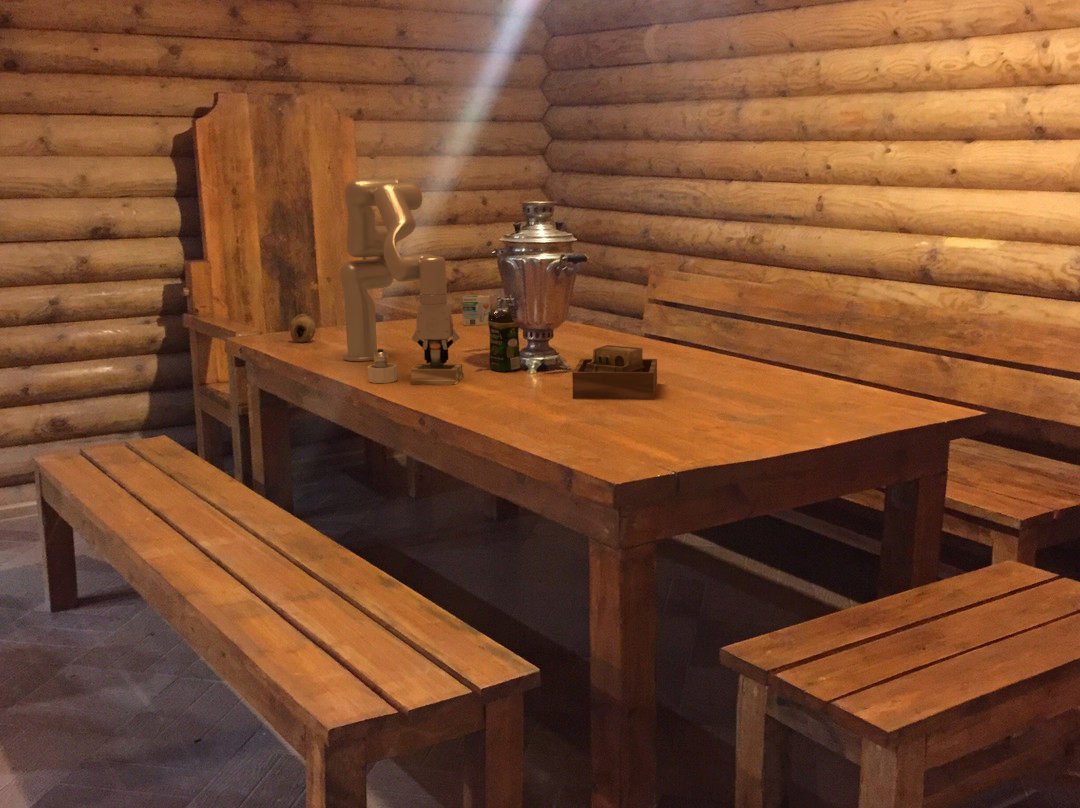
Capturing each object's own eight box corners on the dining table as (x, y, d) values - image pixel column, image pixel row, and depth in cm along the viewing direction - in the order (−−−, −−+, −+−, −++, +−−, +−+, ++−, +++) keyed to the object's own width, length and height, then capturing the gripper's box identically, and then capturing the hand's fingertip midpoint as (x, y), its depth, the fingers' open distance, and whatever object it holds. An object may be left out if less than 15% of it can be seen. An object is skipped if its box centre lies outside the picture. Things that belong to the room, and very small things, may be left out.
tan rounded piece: (288, 341, 411) (286, 313, 409) (312, 339, 414) (310, 311, 412) (295, 345, 403) (293, 316, 400) (319, 342, 406) (317, 314, 404)
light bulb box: (463, 326, 437) (462, 297, 435) (462, 323, 444) (461, 295, 442) (491, 324, 438) (490, 296, 436) (490, 322, 445) (489, 294, 442)
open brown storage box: (581, 382, 327) (580, 358, 326) (656, 383, 324) (656, 359, 323) (572, 398, 308) (572, 372, 306) (653, 399, 305) (653, 373, 303)
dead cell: (377, 377, 339) (375, 348, 337) (390, 377, 338) (389, 348, 336) (373, 380, 335) (371, 350, 333) (386, 380, 334) (385, 350, 332)
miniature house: (603, 383, 327) (603, 343, 325) (647, 387, 320) (647, 347, 317) (575, 392, 315) (575, 351, 313) (620, 398, 308) (620, 355, 305)
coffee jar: (485, 369, 351) (483, 308, 347) (506, 366, 355) (504, 306, 351) (503, 373, 343) (501, 311, 339) (525, 370, 348) (523, 309, 344)
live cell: (431, 365, 337) (430, 335, 335) (445, 365, 336) (443, 335, 334) (428, 367, 333) (426, 338, 331) (442, 367, 332) (440, 337, 330)
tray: (420, 376, 342) (419, 363, 341) (463, 376, 340) (462, 363, 339) (410, 384, 331) (409, 370, 330) (454, 384, 329) (454, 371, 328)
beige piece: (373, 378, 341) (372, 363, 340) (399, 378, 340) (399, 363, 339) (365, 383, 334) (364, 368, 333) (392, 383, 332) (391, 368, 331)
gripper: (402, 301, 328) (405, 365, 332) (459, 301, 325) (462, 365, 329) (408, 298, 335) (411, 360, 339) (465, 297, 333) (467, 360, 337)
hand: (436, 362), depth 334 cm, fingers closed on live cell, 4 cm apart
